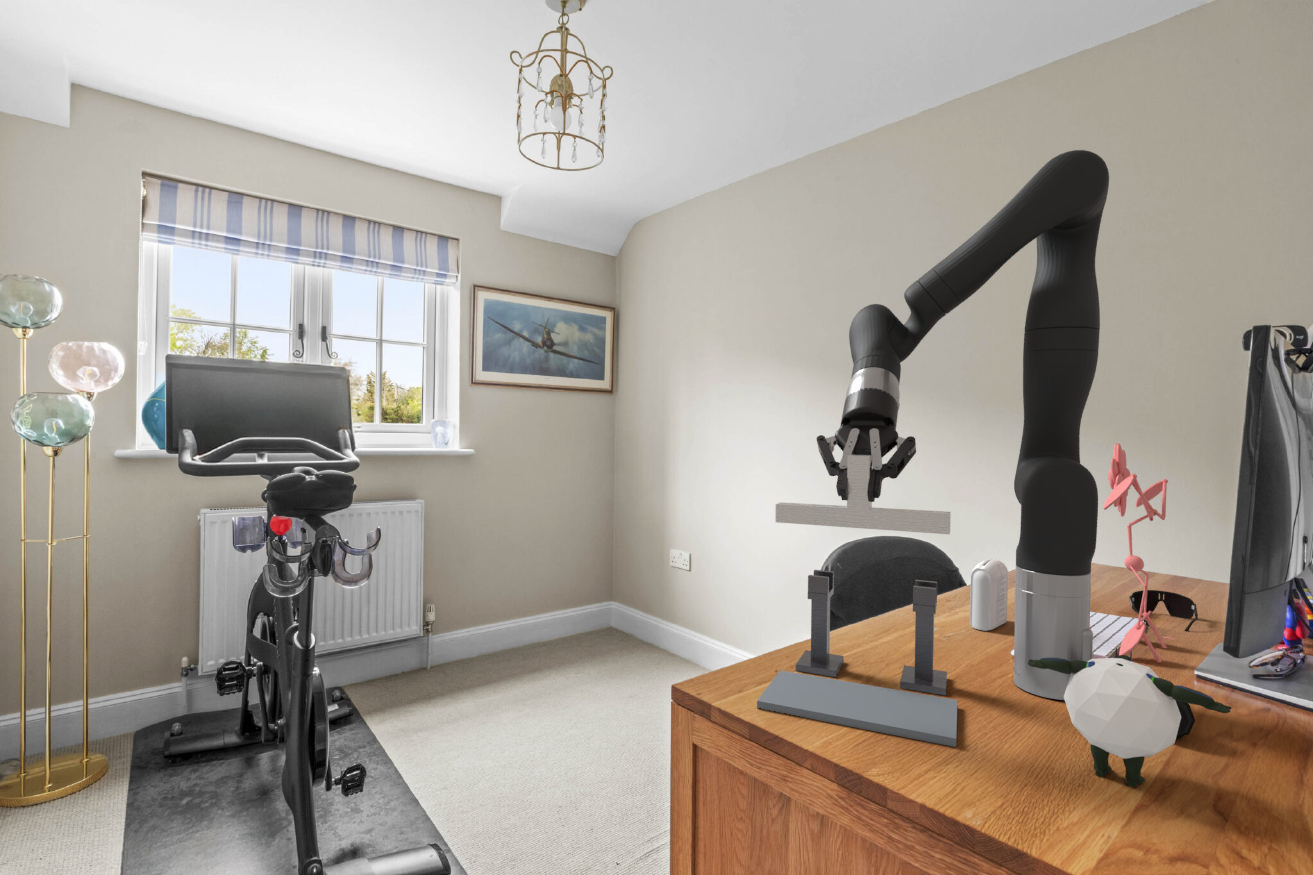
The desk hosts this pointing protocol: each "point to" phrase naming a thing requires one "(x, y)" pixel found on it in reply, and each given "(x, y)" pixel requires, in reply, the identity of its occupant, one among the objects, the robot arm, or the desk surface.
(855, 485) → the rail
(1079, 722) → the figurine
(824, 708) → the mat
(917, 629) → the hook stand
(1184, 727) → the microphone
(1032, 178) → the robot arm
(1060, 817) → the desk surface
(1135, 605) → the sunglasses
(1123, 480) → the figurine
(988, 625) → the photo printer
